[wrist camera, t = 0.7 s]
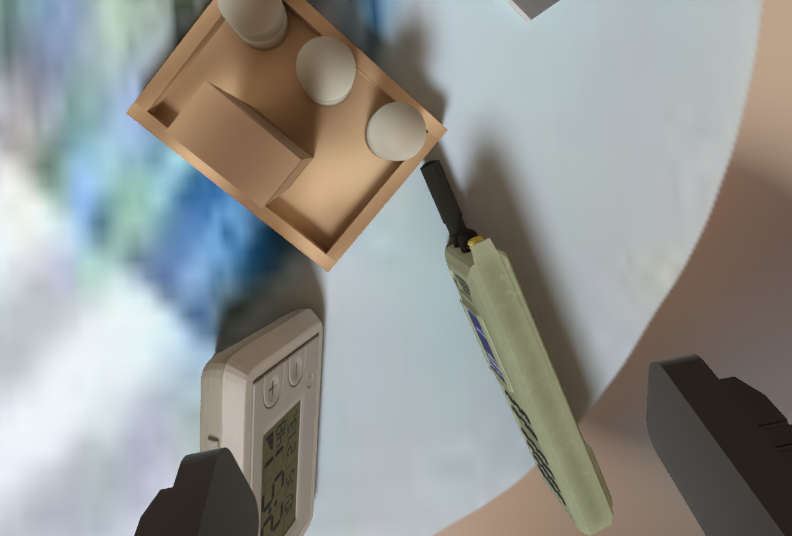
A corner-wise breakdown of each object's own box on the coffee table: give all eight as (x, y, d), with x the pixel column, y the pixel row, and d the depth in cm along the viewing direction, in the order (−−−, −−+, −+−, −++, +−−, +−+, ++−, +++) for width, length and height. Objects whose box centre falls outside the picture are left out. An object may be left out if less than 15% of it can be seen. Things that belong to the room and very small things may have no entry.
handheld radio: (537, 482, 41) (400, 173, 35) (576, 462, 41) (446, 151, 36) (578, 542, 35) (419, 176, 29) (625, 518, 35) (475, 149, 29)
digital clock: (306, 528, 40) (296, 660, 29) (178, 505, 38) (120, 636, 28) (365, 317, 37) (377, 380, 27) (230, 285, 36) (187, 338, 25)
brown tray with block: (140, 115, 33) (4, 89, 19) (257, -35, 32) (199, -174, 19) (328, 264, 36) (324, 332, 23) (440, 131, 35) (506, 117, 22)
